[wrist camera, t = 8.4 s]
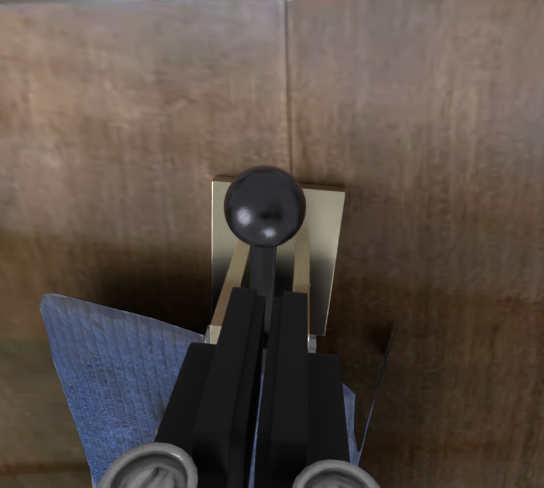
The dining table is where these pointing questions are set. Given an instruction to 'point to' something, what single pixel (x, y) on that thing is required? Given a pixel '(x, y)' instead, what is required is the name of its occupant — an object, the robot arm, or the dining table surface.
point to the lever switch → (264, 224)
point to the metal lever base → (280, 257)
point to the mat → (127, 376)
